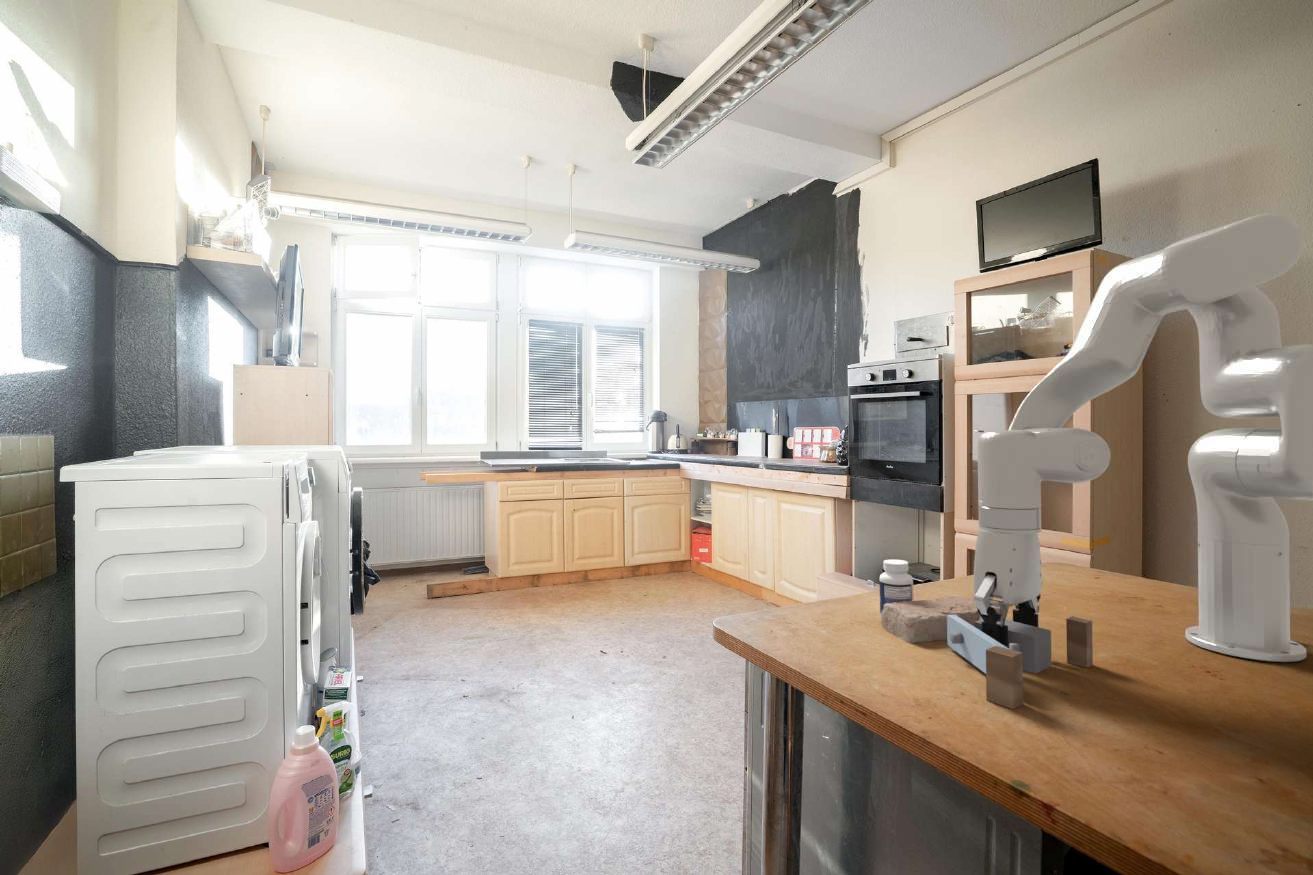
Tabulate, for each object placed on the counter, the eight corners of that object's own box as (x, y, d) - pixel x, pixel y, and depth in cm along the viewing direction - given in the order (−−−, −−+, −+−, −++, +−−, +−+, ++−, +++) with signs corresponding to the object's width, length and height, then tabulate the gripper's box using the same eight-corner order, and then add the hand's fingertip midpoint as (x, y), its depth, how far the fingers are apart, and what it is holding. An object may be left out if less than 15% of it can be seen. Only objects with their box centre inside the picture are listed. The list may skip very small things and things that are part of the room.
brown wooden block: (996, 694, 74) (996, 645, 74) (1023, 703, 71) (1022, 652, 71) (986, 699, 73) (985, 649, 73) (1012, 709, 70) (1012, 657, 70)
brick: (910, 645, 92) (910, 614, 92) (878, 628, 100) (878, 600, 100) (1003, 636, 96) (1003, 606, 96) (965, 620, 104) (965, 593, 104)
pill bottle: (884, 611, 108) (884, 557, 108) (917, 616, 105) (916, 560, 105) (876, 619, 104) (875, 562, 104) (909, 625, 101) (908, 566, 101)
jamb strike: (1072, 659, 85) (1072, 616, 85) (1092, 664, 83) (1092, 620, 83) (1066, 662, 84) (1066, 618, 84) (1086, 667, 82) (1086, 623, 82)
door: (1022, 695, 73) (1021, 645, 73) (1001, 696, 73) (1001, 645, 73) (955, 646, 90) (955, 605, 90) (939, 646, 90) (938, 606, 90)
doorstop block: (991, 650, 89) (991, 616, 89) (1051, 667, 83) (1050, 630, 83) (974, 656, 87) (974, 621, 87) (1034, 674, 80) (1034, 636, 80)
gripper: (1012, 511, 93) (1013, 627, 93) (948, 522, 83) (949, 651, 83) (1067, 516, 86) (1069, 640, 86) (1005, 529, 77) (1007, 669, 77)
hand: (1010, 645), depth 85 cm, fingers open, 7 cm apart
